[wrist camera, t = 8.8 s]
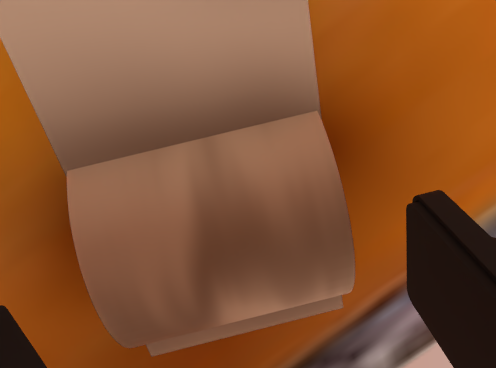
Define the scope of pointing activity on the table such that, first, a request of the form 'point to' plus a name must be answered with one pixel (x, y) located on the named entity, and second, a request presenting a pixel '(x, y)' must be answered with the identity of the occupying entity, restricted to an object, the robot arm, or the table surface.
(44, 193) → the table surface
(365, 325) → the table surface
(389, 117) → the table surface
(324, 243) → the lane
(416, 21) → the table surface
